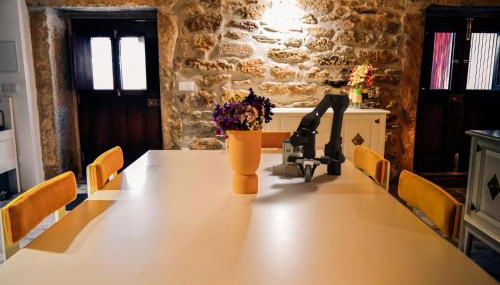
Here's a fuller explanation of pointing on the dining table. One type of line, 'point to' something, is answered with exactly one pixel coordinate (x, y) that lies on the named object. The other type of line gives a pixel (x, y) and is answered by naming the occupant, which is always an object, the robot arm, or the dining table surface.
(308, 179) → the pin
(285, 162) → the coffee can
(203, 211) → the dining table surface
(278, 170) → the wooden box with arms
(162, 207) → the dining table surface
